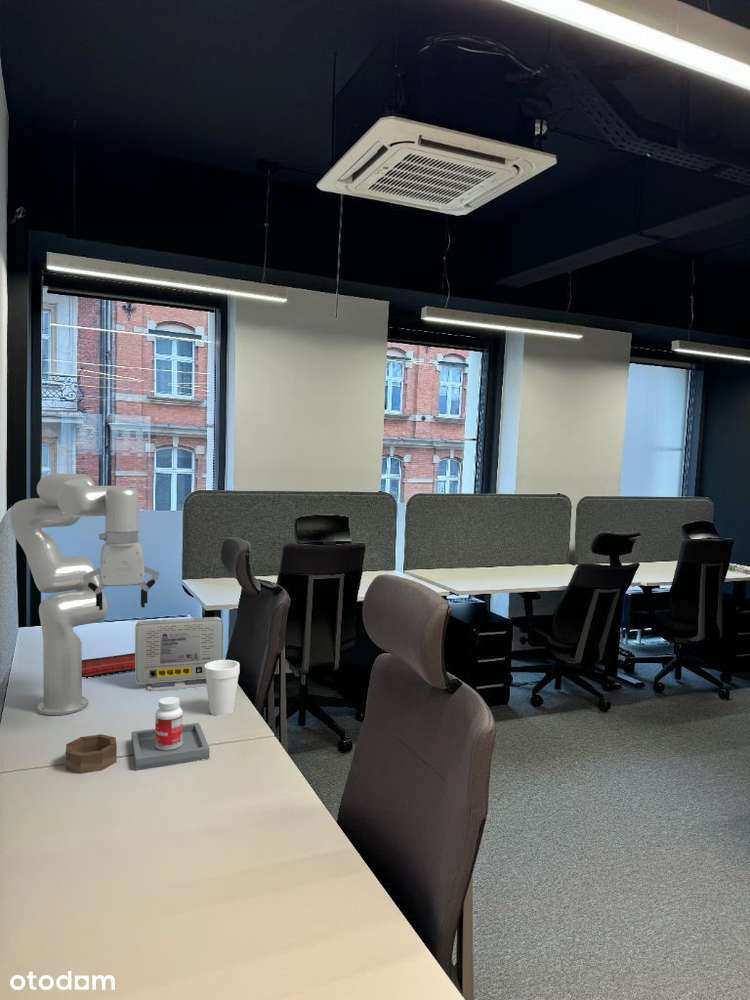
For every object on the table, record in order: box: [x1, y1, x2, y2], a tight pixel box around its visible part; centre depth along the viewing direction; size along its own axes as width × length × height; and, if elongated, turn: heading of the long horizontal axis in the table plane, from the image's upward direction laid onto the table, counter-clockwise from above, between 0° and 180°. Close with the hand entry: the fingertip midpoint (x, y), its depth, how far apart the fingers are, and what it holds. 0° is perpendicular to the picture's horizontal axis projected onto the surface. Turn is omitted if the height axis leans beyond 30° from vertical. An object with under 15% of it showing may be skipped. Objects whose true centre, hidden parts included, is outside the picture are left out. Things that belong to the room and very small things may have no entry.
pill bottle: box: [154, 696, 184, 751], centre depth 155 cm, size 6×6×11 cm
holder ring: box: [65, 734, 118, 774], centre depth 149 cm, size 10×10×4 cm
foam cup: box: [205, 659, 241, 716], centre depth 180 cm, size 10×9×13 cm
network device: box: [134, 616, 224, 692], centre depth 200 cm, size 26×9×20 cm, turn 108°
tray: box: [130, 722, 211, 771], centre depth 156 cm, size 16×16×2 cm
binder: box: [82, 652, 135, 679], centre depth 216 cm, size 16×2×21 cm
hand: (122, 607), depth 161 cm, fingers open, 9 cm apart
